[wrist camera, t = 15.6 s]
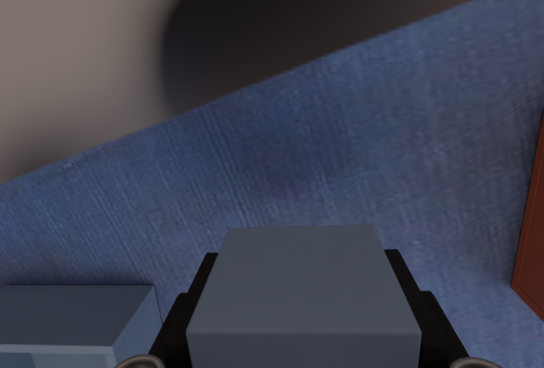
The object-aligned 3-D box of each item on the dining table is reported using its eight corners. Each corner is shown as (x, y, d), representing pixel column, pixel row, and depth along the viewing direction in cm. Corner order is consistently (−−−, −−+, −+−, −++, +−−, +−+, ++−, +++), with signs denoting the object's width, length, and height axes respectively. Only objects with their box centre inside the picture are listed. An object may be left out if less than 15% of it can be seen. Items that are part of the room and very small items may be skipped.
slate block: (228, 226, 11) (183, 331, 7) (372, 223, 10) (423, 332, 6) (241, 338, 12) (211, 483, 8) (368, 339, 12) (407, 492, 8)
